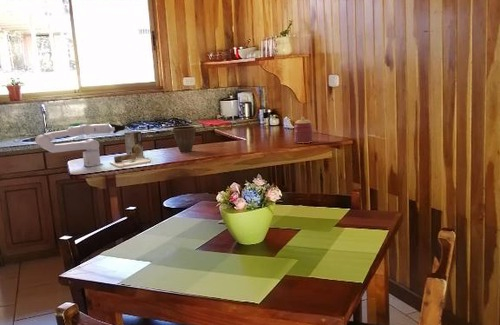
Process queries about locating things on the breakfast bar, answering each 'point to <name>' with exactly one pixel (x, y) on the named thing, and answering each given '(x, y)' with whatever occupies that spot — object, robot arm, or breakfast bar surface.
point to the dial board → (130, 162)
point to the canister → (303, 130)
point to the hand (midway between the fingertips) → (122, 127)
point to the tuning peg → (124, 157)
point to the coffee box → (134, 143)
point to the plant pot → (184, 137)
